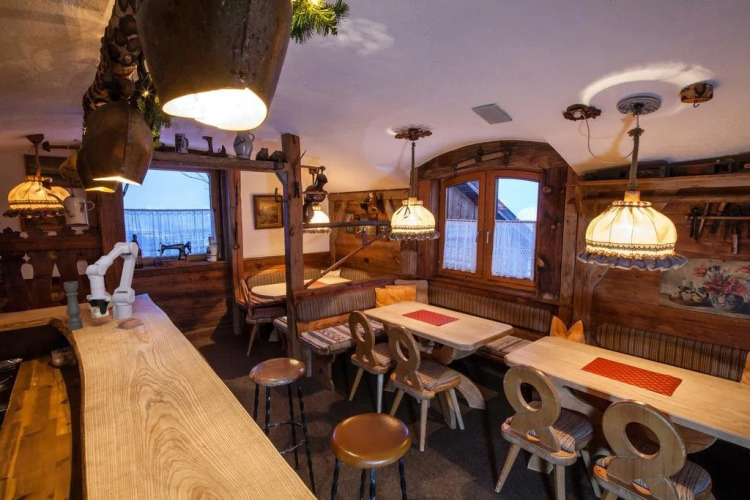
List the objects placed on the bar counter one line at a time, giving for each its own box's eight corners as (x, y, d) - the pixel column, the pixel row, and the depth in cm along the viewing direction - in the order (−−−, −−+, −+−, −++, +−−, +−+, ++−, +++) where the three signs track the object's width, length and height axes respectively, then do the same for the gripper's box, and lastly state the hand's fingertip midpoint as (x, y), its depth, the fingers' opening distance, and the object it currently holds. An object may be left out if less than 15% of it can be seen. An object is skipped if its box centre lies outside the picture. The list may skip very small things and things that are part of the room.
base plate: (113, 330, 193) (113, 327, 193) (131, 324, 203) (131, 322, 203) (127, 332, 190) (127, 329, 190) (145, 326, 200) (145, 323, 200)
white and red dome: (82, 311, 229) (80, 287, 227) (101, 305, 242) (99, 282, 240) (102, 312, 227) (100, 288, 225) (121, 306, 240) (119, 283, 239)
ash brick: (91, 317, 192) (90, 308, 191) (103, 314, 197) (102, 305, 197) (97, 318, 190) (96, 308, 190) (108, 314, 196) (108, 305, 195)
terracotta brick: (118, 327, 194) (117, 321, 194) (130, 323, 201) (130, 317, 200) (128, 328, 192) (127, 322, 192) (140, 324, 199) (139, 318, 198)
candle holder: (84, 328, 197) (79, 282, 194) (69, 331, 192) (63, 284, 189) (81, 326, 201) (77, 280, 198) (67, 328, 196) (61, 282, 193)
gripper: (79, 288, 190) (82, 314, 192) (100, 290, 186) (102, 316, 188) (93, 285, 197) (96, 310, 199) (113, 287, 193) (116, 313, 194)
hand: (100, 313), depth 194 cm, fingers closed on ash brick, 4 cm apart
